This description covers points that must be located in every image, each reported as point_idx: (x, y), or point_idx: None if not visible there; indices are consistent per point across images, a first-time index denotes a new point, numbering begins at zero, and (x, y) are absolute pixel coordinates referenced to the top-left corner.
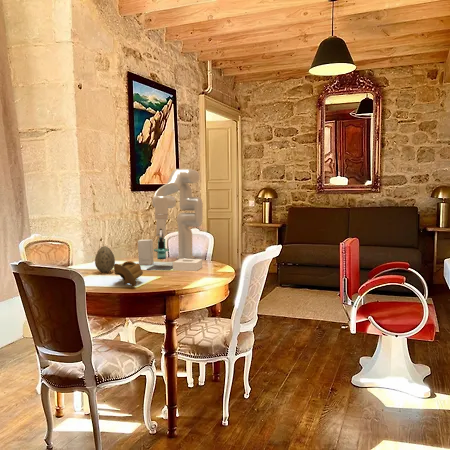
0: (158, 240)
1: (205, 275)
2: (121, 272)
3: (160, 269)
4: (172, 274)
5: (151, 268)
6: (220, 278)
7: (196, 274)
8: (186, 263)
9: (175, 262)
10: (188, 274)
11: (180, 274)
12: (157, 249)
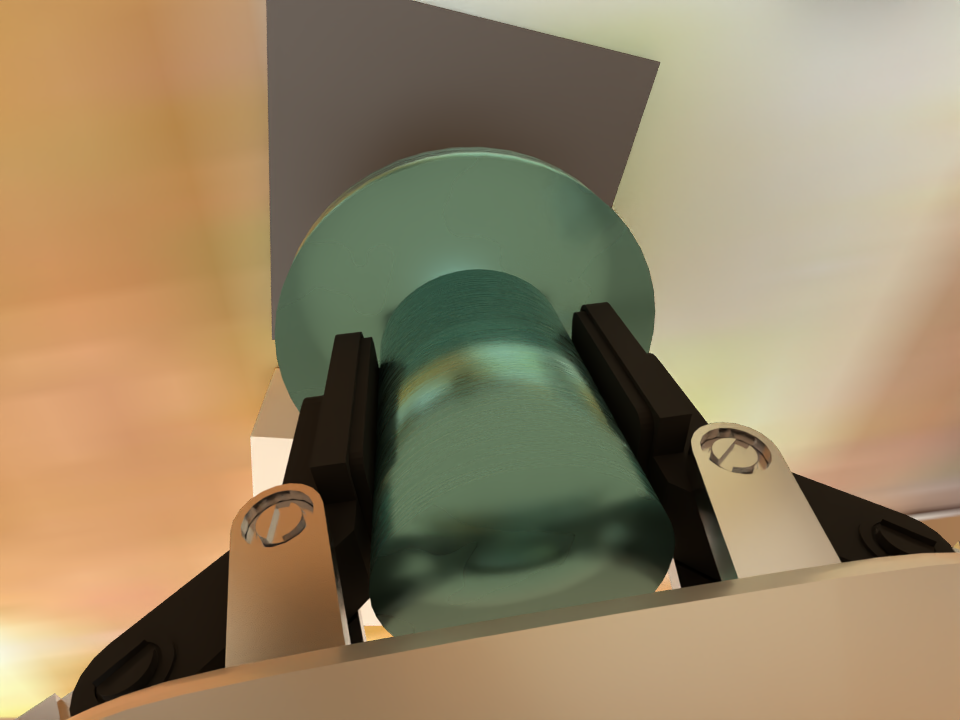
0: (413, 477)
1: (107, 619)
2: None
3: (270, 222)
4: (33, 399)
5: (334, 58)
6: (24, 695)
7: (129, 568)
8: None
9: (252, 461)
10: (102, 521)
11: (71, 466)
12: (394, 273)
